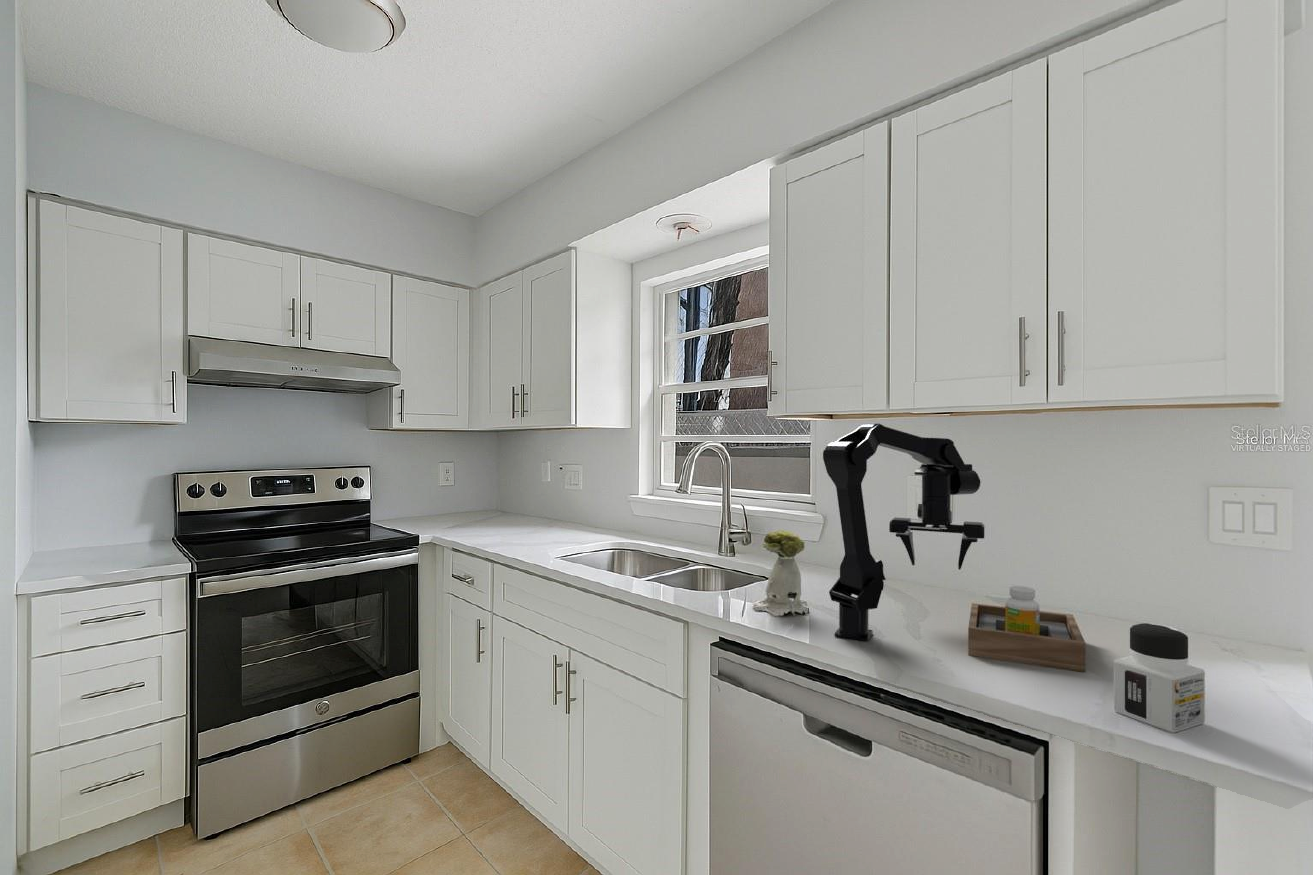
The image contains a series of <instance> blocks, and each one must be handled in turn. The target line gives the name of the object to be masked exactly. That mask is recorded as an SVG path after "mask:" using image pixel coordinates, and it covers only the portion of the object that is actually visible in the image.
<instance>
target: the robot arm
mask: <svg viewBox="0 0 1313 875" xmlns="http://www.w3.org/2000/svg"><path fill="white" fill-rule="evenodd" d="M878 447H884V448H887V449H890V450H894V451H898V452H901V453H905V454H908V455H909V456H910V457H911V458H912V459H914V460H915V461H917V462H919V463H921V465H920V467H918V468H917V469H916V470H915V471H914V475H915V476H921V503H918V504H917V518H918V519H920V520H921V522H918V521H917V522H916V521H912V518H910V517H906V518H905V517H894V518H893V519H891V520H890V521H889V530H888V532H889V533H892V534H893V533H894V534H895V537H897V538H900V539H901V541H902V544H904V548H905V549H906V552H907V555H908V558H909V559H910V562H911V565H912V566H915V565H916V557H915V556H916V555H915V547H914V546H915V545H914V539H913V531H917V532H918V531H920V532H922V531H923V532H935V533H949V534H950V533H951V534H962V537H961V542H960V549H959V554H958V555H959V556H958V561H957V562H958V563H957V564H958V570H961V569H962V566H963V564H964V560H965V557H966V555H967V552H968V550H969V548H970V547H971V545H972V543H977V542H978V539H985V527H986V526H985V524H984V523H983V522H979V521H964V522H963V524H955V523H954V524H953V523H952V522H953V519H952V518H953V514H952V510H951V508H952V507H951V503H952V502H951V498H952V497H951V496H954V495H956V496H957V495H958V496H959V495H971V494H972V495H973V494H975V493H977V491H979V490H980V487H981V479H980V476H979V474H978V473H977V471H975V470H974V469H973V464H972V463H965V462H964V460H963V459H962V456H961V455H960V454H959V451H958V450H957V448H956V446H955V442H954V441H953V440H952V439H950V438H942V437H924V436H923V437H922V436H919V435H915V434H912V433H910V432H909V433H908V432H905V431H902V430H898V429H895V428H891V427H887V426H885V425H883V424H881V423H863V424H862V425H860V426H859V427H857V428H856V429H855V430H853V431H852V432H850V433H848V434H846V435H844V436H842V437H840V438H839V439H837V440H836V441H832V442H830V443H828V444H827V445H826V447H825V448H824V449H823V452H822V460H823V463H824V468H825V470H826V473H827V475H828V476H829V479H830V480H831V481H832V483H833V485H834V486H835V489H836V496H837V505H838V512H839V518H840V524H841V525H840V526H841V533H842V541H843V542H842V543H843V548H844V556H843V558H842V561H841V563H840V566H839V577H838V579H837V580H836V582H835V583H834V585H832V587H831V588H830V589H829V591H828V593H829V596H830V600H831V601H832V602H834V603H838V605H839V607H838V620H839V621H838V624H839V626H838V629H837V630H836V631H835V632H834V636H835V637H839V638H845V639H851V640H859V641H867V642H868V641H869V639H870V638H871V636H872V634H873V632H874V630H872V629H869V617H870V616H869V615H870V613H869V610H876V609H877V608H878V606H879V603H880V599H881V594H882V591H884V581H886V580H887V579H886V577H885V573H884V563H883V561H882V559H877V558H874V556H873V555H872V552H871V547H870V542H869V534H868V533H869V532H868V526H867V519H866V518H867V517H866V511H865V504H864V502H865V501H864V496H863V489H862V483H863V481H864V479H865V476H866V473H867V471H868V470H867V466H868V464H867V463H868V462H867V461H868V460H869V459H870V458H871V457H872V456H874V455H875V454H876V452H877V450H878ZM852 595H854V596H852ZM855 596H857V597H855Z"/></svg>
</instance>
